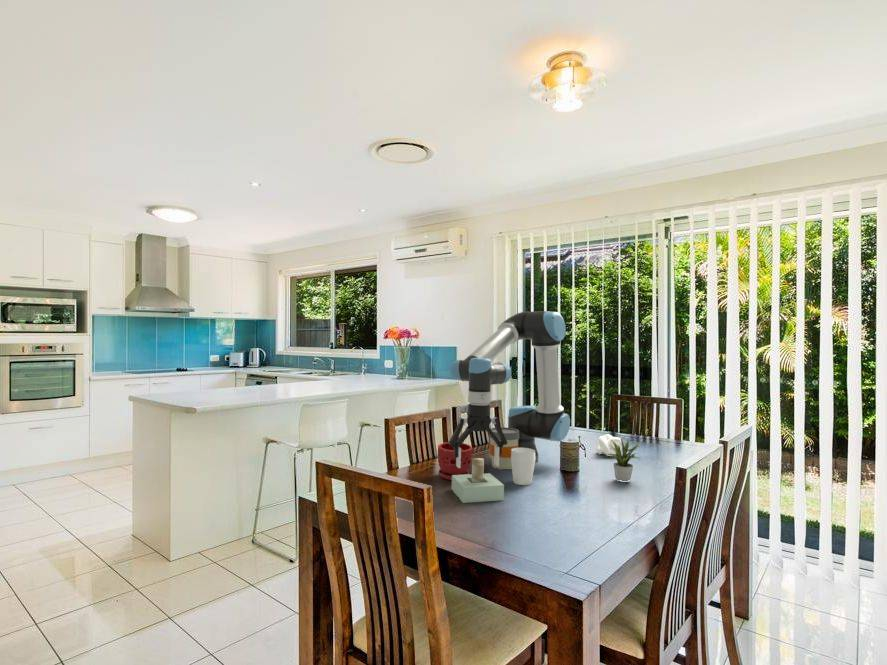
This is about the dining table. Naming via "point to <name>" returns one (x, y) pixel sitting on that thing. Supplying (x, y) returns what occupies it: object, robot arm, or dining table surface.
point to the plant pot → (453, 460)
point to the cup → (522, 465)
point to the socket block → (477, 488)
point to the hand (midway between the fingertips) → (477, 466)
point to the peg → (477, 470)
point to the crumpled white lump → (605, 447)
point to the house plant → (623, 461)
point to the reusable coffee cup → (504, 447)
